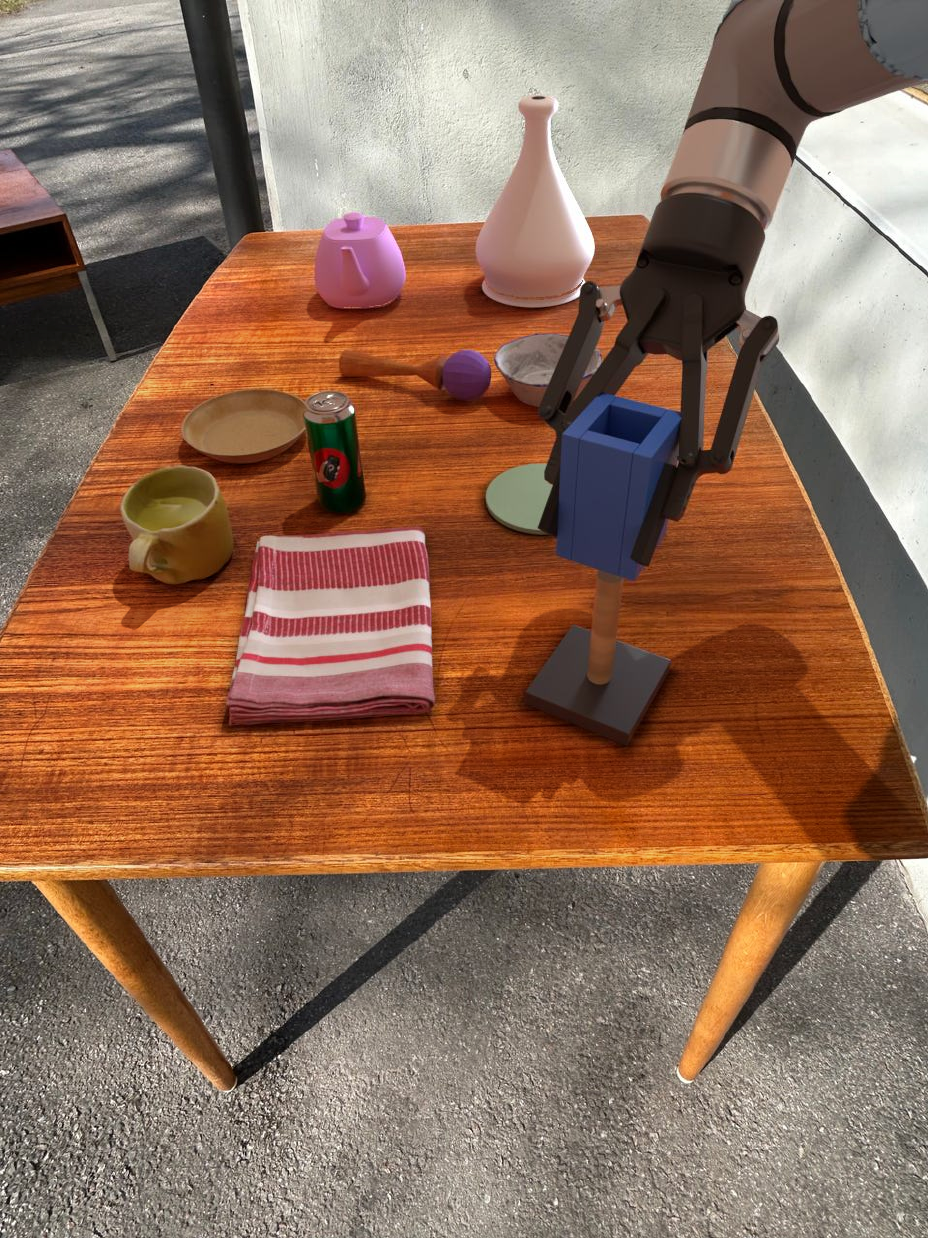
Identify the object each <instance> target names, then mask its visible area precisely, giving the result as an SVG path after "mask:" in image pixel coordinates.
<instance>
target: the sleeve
mask: <svg viewBox="0 0 928 1238" xmlns="http://www.w3.org/2000/svg"><path fill="white" fill-rule="evenodd" d="M680 422H681V417H680V410H674V409H670V408H666V407H662V406H659V405H653V404H649V403H645V402H642V401H637V400H633V399H629V398H626V397H622V396H617V395H615V396H614V395H610V394H606V393H603V394H601V395H600V396H598V397H596V398H595V399H594V400H593V401H592V402H591V403H590V404H589V405H588V406H587V408H586V409H585V410H584V411H583V412H582V413H581V414H580V415H579V416H578V417H577V418H576V420H575V421H574V422H573V423H572V424H571V425H570V426H569V427H568V428H567V429H566V430H565V431H564V433H563V434H562V448H561V467H560V487H559V506H558V525H557V537H556V546H555V547H556V548H555V556H556V557H558V558H562V559H564V560H568V561H571V562H574V563H577V564H580V565H583V566H585V567H589V568H591V569H595V570H597V571H598V570H601V571H604V572H607V573H610V574H613V575H616V576H619V577H622V578H624V580H625V579H626V580H628V581H630V582H635V581H636V580H637V578H638V577H639V575H640V574H641V573H642V571H643V570H644V568H645V566H644V565H640V564H638V563H636V562H635V561H634V560H632V559H631V558H630V556H631V553H632V551H633V548H634V545H635V542H636V540H637V537H638V534H639V531H640V529H641V526H642V524H643V522H644V519H645V516H646V513H647V511H648V508H649V505H650V502H651V500H652V497H653V494H654V491H655V489H656V486H657V483H658V480H659V478H660V475H661V472H662V469H663V467H664V464H665V463H668V464H672V465H675V466H676V467H677V465H678V463H679V462H678V460H677V456H679V434H680ZM668 523H669V519H666V520H665V523H664V526H663V529H662V531H661V534H660V537H659V540H658V542H657V545H656V548H655V551H656V550H657V548H658V547H659V545H660V544H661V543H662V541H663V540H664V538H665V537H666V534H667V530H668V525H669V524H668Z"/></svg>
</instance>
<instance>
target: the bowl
mask: <svg viewBox="0 0 928 1238" xmlns="http://www.w3.org/2000/svg"><path fill="white" fill-rule="evenodd" d="M568 337H569V335H567V334H559V333H534V334H530V335H525V336H522V337H518V338H515V339H513V340H511V341H509V342H507V343H504V344H503V345H501V347H499V348H498V349H497V351H496V352H495V354H494V357H493V361H494V365H495V367H496V368H497V370H498V371H499V373H500V374H501V375H502V377H503V379H504V380H505V382H506V383H507V384H508V386H509V388H510V389H511V391H512V393H513V394H514V396H515V397H516V398H517V399H518V400H519V401H520V402H522V403H524V404H525V405H528V406H531V407H532V406H533V407H535V408H539V406H540V403H541V401H542V398H543V396H544V394H545V391H546V389H547V387H548V384H549V382H550V380H551V377H552V375H553V373H554V370H555V368H556V365H557V363H558V361H559V358H560V356H561V354H562V351H563V349H564V347H565V344H566V342H567V340H568ZM602 356H603V355H602V354H601V350H600V348H599V349H598V348H597V347H596V348H595V351H594V353H593V355H592V358H591V360H590V362H589V365H588V367H587V369H586V372H585V374H584V376H583V379H582V381H581V383H580V386H579V388H578V390H577V393H576V395H575V397H574V400H573V402H574V401H575V400H576V398H577V397H578V395H579V394H580V393H581V391H582V390H583V388H584V387H585V386H586V384H587V383H588V381H589V380H590V379H591V377H592V376H593V374H594V373H595V372H596V370H597V369H598V367H599V366H600V365H601V363H602V362H603V359H602Z"/></svg>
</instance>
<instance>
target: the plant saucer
mask: <svg viewBox="0 0 928 1238" xmlns="http://www.w3.org/2000/svg"><path fill="white" fill-rule="evenodd" d="M304 409H305V401H304V399H302V398H300V397H299V396H297V395H296V394H293V393H290V392H287V391H283V390H279V389H272V388H246V389H239V390H233V391H229V392H225V393H221V394H219V395H216V396H213V397H211V398H209V399H207V400H204V401H202V402H201V403H199V404H198V405H196V406H195V407H193V408H192V410H190V411H189V412H188V413H187V414H186V416H185V417H184V419H183V421H182V423H181V426H180V431H181V435H182V436H181V437H182V438H183V439H184V441H185V442H186V443H187V444H188V445H189V446H190V447H192V448H193V449H195V450H196V451H198V452H199V453H201V454H203V455H204V456H207V457H209V458H211V459H214V460H217V461H220V462H223V463H229V464H252V463H259V462H263V461H266V460H270V459H272V458H274V457H277V456H279V455H281V454H282V453H284V452H285V451H287V450H288V449H289V448H291V446H293V445H294V444H295V443H296V441H298V440H299V438H300V437H302V435H303V434H304V432H305V431H306V430H305V424H304V419H303V411H304Z"/></svg>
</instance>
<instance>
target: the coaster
mask: <svg viewBox="0 0 928 1238" xmlns="http://www.w3.org/2000/svg"><path fill="white" fill-rule="evenodd" d="M546 465H547V462H546V463H545V462H544V463H542V462H541V463H529V464H522V465H519V466H515V467H512V468H509V469H507V470H505V471H503V472H501V473H500V474H498V475H497V476H495V477H494V479H492V481H491V482H490V483H489V484H488V486H487V488H486V491H485V505H486V509H487V511H488V512H489V515H491V517H493V518H494V519H495V520H496V521H497V522H498V523H500V524H501V525H503V526H504V527H506V528H509V529H511V530H514V531H517V532H521V533H525V534H530V535H539V536H541V535H548V534H546V533H545V532H543V531H541V530H540V529H538V525H539V522H540V519H541V517H542V514H543V511H544V508H545V506H546V503H547V500H548V497H549V494H550V492H551V489H552V486H553V485H552V484H550V483H548V482H547V481H546V480H544V471H545V468H546ZM548 536H549V535H548Z"/></svg>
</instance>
